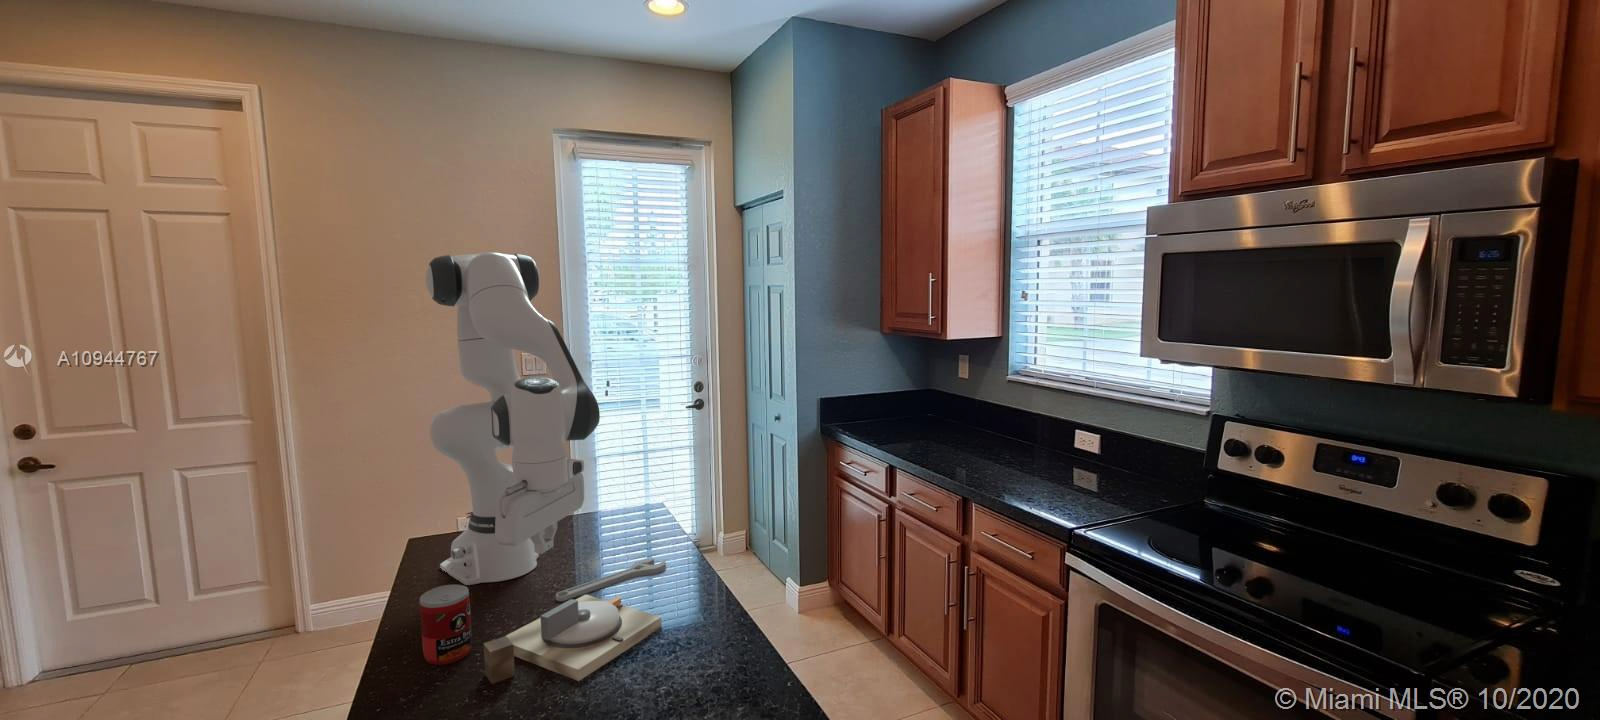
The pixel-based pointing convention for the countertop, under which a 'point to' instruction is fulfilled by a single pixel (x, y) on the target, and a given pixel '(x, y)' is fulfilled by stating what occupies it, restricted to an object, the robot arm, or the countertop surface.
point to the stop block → (499, 659)
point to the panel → (583, 656)
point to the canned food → (446, 624)
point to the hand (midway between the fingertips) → (544, 550)
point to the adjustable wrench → (613, 579)
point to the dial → (580, 621)
